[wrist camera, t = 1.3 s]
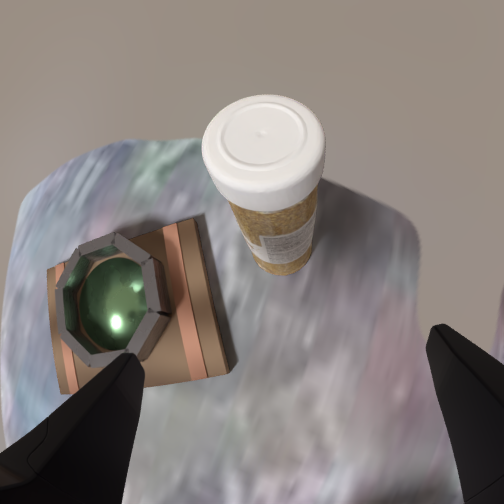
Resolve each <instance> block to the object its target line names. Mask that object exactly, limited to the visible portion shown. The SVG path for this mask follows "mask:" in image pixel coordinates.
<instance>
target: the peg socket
mask: <svg viewBox="0 0 504 504" xmlns="http://www.w3.org/2000/svg"><path fill="white" fill-rule="evenodd" d="M121 253H125V254H126V255H127V256H129V257H130V258H132V259H133V260H134V261H136V262H137V263H139V264H140V265H141V266H139V265H138V264H137V263H135V262H134V261H132V260H129V259H126V258H112V259H108V260H106V261H104V262H102V263H100V264H99V265H98V266H96V267H95V268H94V269H93V270H92V271H91V273H90V274H89V275H88V273H89V271H90V269H91V268H92V266H93V264H94V262H97V261H100V260H103V259H106V258H109V257H112V256H115V255H118V254H121ZM161 263H162V262H161V261H159V260H158V259H156V258H155V257H153V256H152V255H150V254H149V253H147V252H146V251H144V250H143V249H141V248H140V247H138V246H137V245H135V244H134V243H132V242H131V241H129V240H128V239H126V238H125V237H123V236H122V235H120V234H119V233H115V232H113V233H110V234H107V235H105V236H102V237H99V238H97V239H94V240H92V241H89V242H87V243H84V244H81V245H79V246H78V249H77V248H76V249H75V251H74V252H73V254H72V256H71V258H70V259H69V261H68V263H67V265H66V267H65V269H64V270H63V272H62V274H61V276H60V278H59V280H58V282H57V284H56V287H57V288H58V289H55V304H56V316H57V326H58V334H61V336H60V338H61V339H62V340H63V341H64V342H65V344H66V345H67V346H68V347H69V348H70V349H71V350H72V351H73V352H74V353H75V354H76V355H77V356H78V357H79V358H80V359H81V360H82V361H83V362H84V363H85V364H86V365H87V366H88V367H91V368H105V367H106V366H107V365H108V364H109V363H111V362H112V361H113V360H114V359H115V358H116V357H118V356H119V355H120V354H121V353H124V352H126V353H134V354H136V356H137V358H138V359H139V361H140V362H144V360H145V359H148V357H149V355H150V354H151V352H152V350H153V349H154V347H155V345H156V343H157V342H158V340H159V338H160V337H161V335H162V333H163V331H164V330H165V328H166V326H167V325H168V323H169V321H170V320H171V317H170V316H168V315H169V314H172V309H171V304H170V298H169V293H168V287H167V281H166V275H165V269H164V265H163V264H161ZM87 275H88V277H87ZM86 277H87V279H86V280H85V278H86ZM84 280H85V282H84ZM83 282H84V285H83V287H82V290H81V294H80V301H79V311H80V318H81V322H82V325H83V327H84V329H85V331H86V333H87V334H88V336H89V337H90V338H91V339H92V340H93V341H94V342H95V343H96V344H97V345H99V346H101V347H103V348H105V349H109V350H117V351H112V352H106V353H103V352H102V351H101V350H100V349H99V348H98V347H96V346H95V345H94V344H93V343H92V342H91V341H90V340H89V339H88V338H87V337H86V336H85V335H84V334H83V333H82V332H81V329H80V320H79V311H78V301H77V293H78V291H79V289H80V288H81V286H82V284H83Z"/></svg>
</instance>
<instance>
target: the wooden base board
mask: <svg viewBox="0 0 504 504" xmlns="http://www.w3.org/2000/svg"><path fill="white" fill-rule="evenodd" d="M129 241H131V242H132V243H134V244H135V245H137V246H138V247H140V248H141V249H143V250H144V251H146V252H147V253H149V254H150V255H152V256H153V257H155V258H156V259H158V260H159V261H161V262H162V263H161V264H163V265H164V269H165V275H166V281H167V287H168V293H169V298H170V304H171V309H172V314H169V315H168V316H170V317H171V320H170V321H169V323H168V325H167V326H166V328H165V330H164V331H163V333H162V335H161V337H160V338H159V340H158V342H157V343H156V345H155V347H154V349H153V350H152V352H151V354H150V355H149V357H148V359H145V360H144V362H140V363H141V365H142V366H143V368H144V371H145V382H144V388H146V387H154V386H161V385H168V384H174V383H181V382H187V381H193V380H199V379H204V378H209V377H214V376H220V375H225V374H228V373H230V371H229V367H228V363H227V359H226V355H225V351H224V346H223V342H222V338H221V334H220V329H219V325H218V321H217V316H216V312H215V308H214V303H213V299H212V294H211V289H210V285H209V280H208V275H207V271H206V266H205V261H204V256H203V251H202V246H201V241H200V236H199V231H198V226H197V222H196V221H195V220H194V219H193V218H192V219H189V220H186V221H183V222H179V223H174V224H171V225H168V226H165V227H163V228H161V229H158V230H155V231H152V232H149V233H146V234H143V235H140V236H137V237H134V238H131V239H129ZM112 258H126V259H129V260H132V261H134V260H133V259H132V258H130V257H129V256H127V255H126V254H125V253H121V254H118V255H115V256H112V257H109V258H106V259H103V260H100V261H97V262H94V264H93V266H92V268H91V269H90V271H89V273H88V275H89V274H90V273H91V271H92V270H93V269H94V268H95V267H96V266H98V265H99V264H100V263H102V262H104V261H106V260H108V259H112ZM134 262H135V263H137V262H136V261H134ZM67 263H68V262H65V263H61V264H59V265H56V266H55V267H52V268H50V269H47V290H48V307H49V320H50V330H51V338H52V346H53V354H54V360H55V366H56V372H57V378H58V383H59V388H60V393H61V394H75V393H76V392H77V391H78V390H79V389H80V388H82V387H83V386H84V385H85V384H86V383H87V382H89V381H90V380H91V379H92V378H93V377H94V376H95V375H97V374H98V373H99V372H100V371H101V370H102V369H104V368H91V367H88V366H87V365H86V364H85V363H84V362H83V361H82V360H81V359H80V358H79V357H78V356H77V355H76V354H75V353H74V352H73V351H72V350H71V349H70V348H69V347H68V346H67V345H66V344H65V342H64V341H63V340H62V339H61V338H60V336H61V334H58V326H57V316H56V304H55V289H58V288H57V287H56V284H57V282H58V280H59V278H60V276H61V274H62V272H63V270H64V269H65V267H66V265H67ZM137 264H138V265H139V266H141V265H140V264H139V263H137ZM88 275H87V277H88ZM87 277H86V278H85V280H86V279H87ZM85 280H84V282H85ZM84 282H83V284H82V286H81V288H80V289H79V291H78V293H77V301H78V311H79V301H80V294H81V290H82V287H83V285H84ZM79 320H80V329H81V332H82V333H83V334H84V335H85V336H86V337H87V338H88V339H89V340H90V341H91V342H92V343H93V344H94V345H95V346H96V347H98V348H99V349H100V350H101V351H102V352H103V353H106V352H112V351H117V350H109V349H105V348H103V347H101V346H99V345H97V344H96V343H95V342H94V341H93V340H92V339H91V338H90V337H89V336H88V334H87V333H86V331H85V329H84V327H83V325H82V322H81V318H80V311H79Z"/></svg>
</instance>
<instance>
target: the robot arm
mask: <svg viewBox="0 0 504 504" xmlns="http://www.w3.org/2000/svg"><path fill="white" fill-rule="evenodd" d="M426 353H427V357H428V361H429V365H430V369H431V373H432V378H433V382H434V387H435V391H436V395H437V398H438V401H439V405H440V408H441V411H442V414H443V417H444V421H445V424H446V427H447V431H448V434H449V438H450V442H451V445H452V449H453V453H454V457H455V461H456V465H457V469H458V474H459V478H460V483H461V488H462V493H463V499H464V502H465V503H464V504H504V365H503V364H502V363H501V362H499V361H498V360H496V359H495V358H494V357H492V356H491V355H489V354H488V353H487V352H485V351H484V350H482V349H481V348H479V347H478V346H477V345H475V344H474V343H472V342H471V341H470V340H468V339H467V338H465V337H464V336H462V335H461V334H459V333H458V332H457V331H455V330H454V329H452V328H451V327H449V326H448V325H446V324H439V325H435V326H433V327H432V328H431V330H430V334H429V337H428V341H427V344H426ZM144 382H145V371H144V368H143V366H142V365H141V363H140V361H139V359H138V358H137V356H136V354H134V353H126V352H124V353H121V354H120V355H119V356H118V357H116V358H115V359H114V360H113V361H112V362H111V363H109V364H108V365H107V366H106V367H105V368H104V369H102V370H101V371H100V372H99V373H98V374H97V375H95V376H94V377H93V378H92V379H91V380H90V381H89V382H87V383H86V384H85V385H84V386H83V387H82V388H80V389H79V390H78V391H77V392H76V393H75V394H73V395H72V396H71V397H70V398H69V399H68V400H66V401H65V402H64V403H63V404H62V405H61V406H59V407H58V408H57V409H56V410H55V411H54V412H53V413H51V414H50V415H49V417H47V418H46V419H44V420H43V421H42V422H41V423H40V424H39V425H37V426H36V427H35V428H34V429H33V430H31V431H30V432H29V433H27V434H26V435H25V436H23V437H22V438H21V439H19V440H18V441H17V442H15V443H14V444H12V445H11V446H10V447H8V448H7V449H6V450H4V451H3V452H1V453H0V504H122V499H123V493H124V488H125V482H126V477H127V472H128V467H129V462H130V458H131V453H132V448H133V444H134V439H135V435H136V431H137V426H138V422H139V417H140V411H141V404H142V396H143V389H144Z"/></svg>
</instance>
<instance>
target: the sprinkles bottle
mask: <svg viewBox="0 0 504 504" xmlns="http://www.w3.org/2000/svg"><path fill="white" fill-rule="evenodd" d="M202 155H203V159H204V163H205V165H206V167H207V170H208V172H209V174H210V176H211V178H212V180H213V182H214V183H215V185H216V187H217V189H218V190H219V191H220V193H221V194H222V195H223V196H224V197H225V198H226V199H227V200H228V201H229V204H230V206H231V208H232V210H233V212H234V215H235V218H236V221H237V223H238V225H239V227H240V229H241V231H242V234H243V236H244V238H245V240H246V242H247V244H248V246H249V248H250V249H251V251H252V254H253V257H254V259H255V261H256V262H257V264H258V265H259V266H260V267H261V268H262V269H263V270H265V271H266V272H269V273H271V274H275V275H288V274H292V273H294V272H296V271H298V270H300V269H301V268H302V267H303V266H304V265H305V264H306V262H307V261H308V259H309V257H310V254H311V251H312V242H311V241H312V237H313V231H314V224H315V216H316V208H317V186H318V182H319V180H320V178H321V176H322V173H323V168H324V161H325V133H324V129H323V127H322V125H321V123H320V121H319V119H318V118H317V116H316V115H315V114H314V113H313V112H312V111H311V110H310V109H309V108H308V107H306V106H305V105H304V104H302V103H300V102H298V101H296V100H294V99H291V98H288V97H285V96H279V95H270V94H266V95H255V96H250V97H246V98H243V99H240V100H238V101H236V102H234V103H232V104H230V105H228V106H227V107H225V108H224V109H222V110H221V111H220V112H219V113H218V114H217V115H216V116H215V117H214V118H213V119H212V120H211V122H210V123H209V125H208V127H207V129H206V131H205V133H204V136H203V141H202Z"/></svg>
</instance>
